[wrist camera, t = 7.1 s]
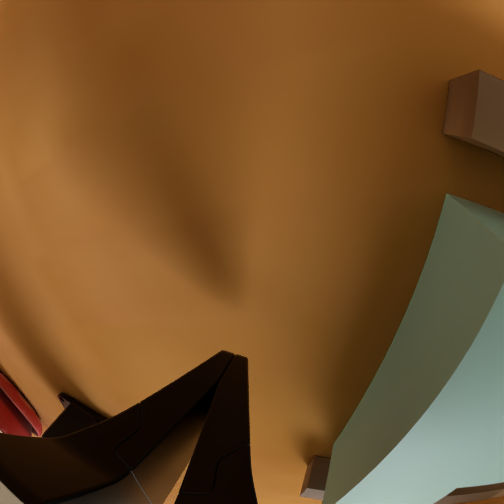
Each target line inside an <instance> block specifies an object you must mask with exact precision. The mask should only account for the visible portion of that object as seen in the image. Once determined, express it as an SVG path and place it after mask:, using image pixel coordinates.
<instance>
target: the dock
mask: <svg viewBox="0 0 504 504" xmlns="http://www.w3.org/2000/svg"><path fill="white" fill-rule="evenodd" d="M442 134H445V135H448V136H451V137H454V138H457V139H459V140H462V141H465V142H467V143H470V144H473V145H475V146H478V147H480V148H483V149H485V150H487V151H490V152H492V153H495V154H497V155H499V156H501V157H504V81H502V80H500V79H498V78H496V77H494V76H492V75H490V74H488V73H486V72H483V71H481V70H477V71H474V72H471V73H468V74H465V75H463V76H460V77H457V78H454V79H451V80H450V81H449V91H448V99H447V107H446V114H445V121H444V127H443V133H442ZM330 461H331V459H329V458H323V457H318V456H314V457H313V459H312V460H311V462H310V463H309V465H308V466H307V469H306V474H305V478H304V482H303V486H302V490H301V494H300V496H301V497H306V498H312V499H318V500H323V497H324V492H325V487H326V482H327V477H328V472H329V466H330ZM501 496H504V482H501V483H495V484H489V485H481V486H473V487H463V488H456V489H455V490H453V491H452V492H450V493H449V494H448V495H446V496H445V497H443V498H442V499H440V500H438V501H437V502H435V503H434V504H456V503H465V502H473V501H479V500H485V499H491V498H496V497H501Z"/></svg>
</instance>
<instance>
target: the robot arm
mask: <svg viewBox="0 0 504 504" xmlns="http://www.w3.org/2000/svg"><path fill="white" fill-rule="evenodd" d="M58 398H59V399H60V401H61V403H62V405H63V407H64V411H63V412H62V413H61V414H60V415H59V416H58V417H57V419H56V420H55V421H54V422H53V423H52V424H51V425H50V427H49V428H48V429H47V430H46V431H45V432H44V434H43V435H42V438H41V437H30V436H20V435H12V434H5V433H0V504H163V503H164V501H165V500H166V498H167V496H168V495H169V493H170V492H171V490H172V489H173V487H174V485H175V484H176V482H177V481H178V479H179V477H180V476H181V474H182V472H183V471H184V469H185V467H186V466H187V464H188V463H189V461H190V463H189V466H188V469H187V471H186V474H185V477H184V479H183V482H182V485H181V488H180V490H179V494H178V496H177V498H176V501H175V503H174V504H258V503H257V498H256V493H255V488H254V483H253V477H252V469H251V454H250V422H249V381H248V358H247V357H244V356H241V355H237V354H236V355H234V354H233V353H231V352H228V351H224V350H222V351H220V352H219V353H217V354H216V355H214V356H212V357H211V358H209V359H208V360H206V361H205V362H203V363H202V364H200V365H199V366H197V367H196V368H194V369H193V370H191V371H189V372H188V373H186V374H185V375H183V376H182V377H180V378H178V379H177V380H175V381H174V382H172V383H170V384H169V385H167V386H166V387H164V388H162V389H161V390H159V391H157V392H156V393H154V394H152V395H151V396H149V397H147V398H146V399H144V400H142V401H141V402H140V403H137V404H136V405H134V406H132V407H130V408H129V409H127V410H125V411H123V412H121V413H119V414H118V415H116V416H113V417H111V418H109V419H107V420H106V419H104V418H102V417H101V416H99V415H97V414H95V413H94V412H92V411H90V410H89V409H87V408H85V407H84V406H82V405H81V404H79V403H77V402H76V401H74V400H73V399H71V398H70V397H68V396H67V395H65V394H64V393H62V392H61V393H60V394H59V395H58ZM190 459H191V460H190Z"/></svg>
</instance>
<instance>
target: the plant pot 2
mask: <svg viewBox="0 0 504 504" xmlns="http://www.w3.org/2000/svg"><path fill="white" fill-rule="evenodd" d="M0 430H1V431H2V432H3V433H5V434H12V435H20V436H30V437H31V436H32V433H33V434H35V435H36V436H41V434H42V425H41V422H40V420H39V418H38V416H37V414H36V413H35V411H34V410H33V407H32V406H31V405H30V404H29V403H28V402H27V401H26V400H25V399H24V397H23V396H22V395H21V394H20V393H19V391H18V390H17V389H16V388H15V387H14V385H13V384H12V383H11V382H10V381H9V380H8V379H7V378H6V377H5V376H4V375H3V374H2V373H0Z"/></svg>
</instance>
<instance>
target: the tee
mask: <svg viewBox="0 0 504 504" xmlns="http://www.w3.org/2000/svg"><path fill="white" fill-rule="evenodd" d="M501 482H504V213H503V212H500V211H497V210H495V209H492V208H489V207H486V206H484V205H481V204H478V203H475V202H472V201H469V200H466V199H463V198H460V197H457V196H454V195H451V194H448V193H446V197H445V200H444V204H443V208H442V211H441V215H440V218H439V222H438V225H437V228H436V232H435V235H434V238H433V241H432V244H431V247H430V250H429V253H428V256H427V259H426V262H425V265H424V267H423V270H422V273H421V275H420V278H419V281H418V283H417V286H416V288H415V291H414V293H413V296H412V298H411V301H410V303H409V306H408V308H407V310H406V313H405V315H404V317H403V319H402V322H401V324H400V326H399V328H398V331H397V333H396V335H395V337H394V339H393V341H392V343H391V345H390V347H389V349H388V351H387V353H386V355H385V357H384V359H383V361H382V363H381V365H380V367H379V369H378V371H377V373H376V375H375V376H374V378H373V380H372V382H371V384H370V386H369V387H368V389H367V391H366V393H365V394H364V396H363V398H362V400H361V401H360V403H359V405H358V406H357V408H356V410H355V411H354V413H353V415H352V416H351V418H350V419H349V421H348V423H347V424H346V426H345V427H344V429H343V430H342V432H341V434H340V435H339V437H338V438H337V440H336V441H335V443H334V444H333V449H332V455H331V461H330V466H329V472H328V477H327V482H326V487H325V492H324V497H323V501H322V504H434V503H435V502H437V501H438V500H440V499H442V498H443V497H445V496H446V495H448V494H449V493H450V492H452V491H453V490H455V489H456V488H463V487H473V486H481V485H489V484H495V483H501Z"/></svg>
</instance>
